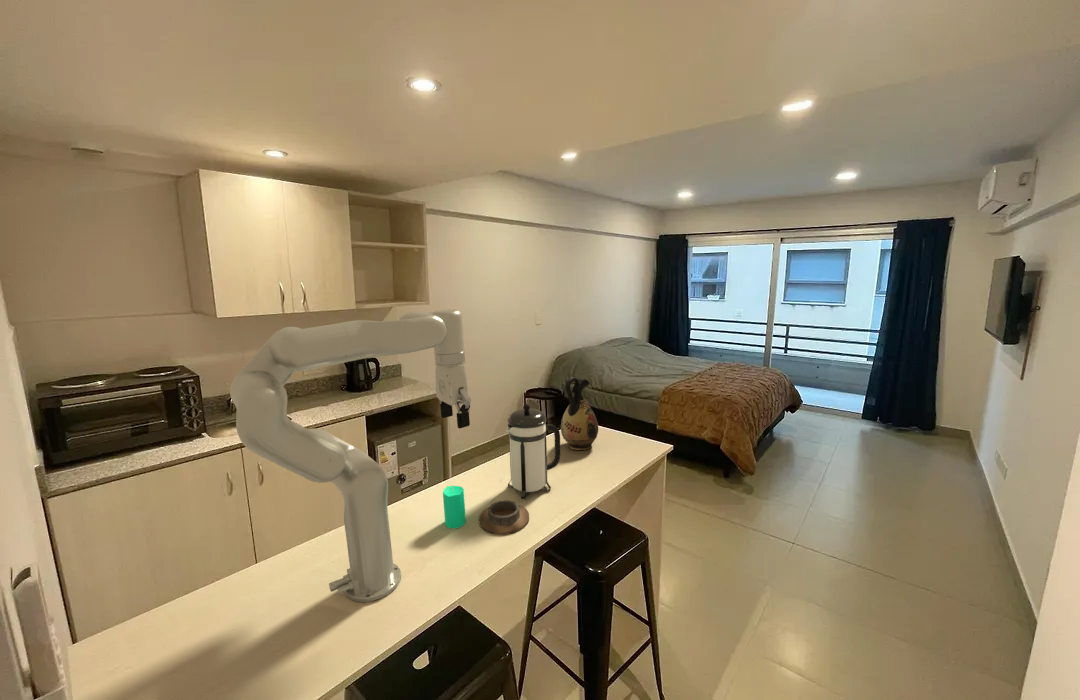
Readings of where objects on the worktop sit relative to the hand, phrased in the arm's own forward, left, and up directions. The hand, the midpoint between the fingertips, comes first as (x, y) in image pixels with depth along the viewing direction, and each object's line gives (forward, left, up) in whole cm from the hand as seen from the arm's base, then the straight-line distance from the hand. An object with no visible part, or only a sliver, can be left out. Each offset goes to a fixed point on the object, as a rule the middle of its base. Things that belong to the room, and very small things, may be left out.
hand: (455, 421), depth 114 cm
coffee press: (+32, +11, -35) cm, 48 cm away
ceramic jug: (+67, +25, -35) cm, 79 cm away
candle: (+2, +9, -35) cm, 36 cm away
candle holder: (+14, +1, -35) cm, 37 cm away
